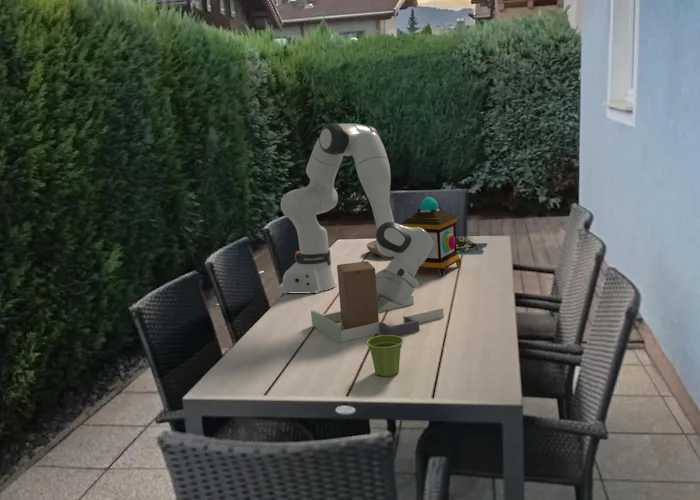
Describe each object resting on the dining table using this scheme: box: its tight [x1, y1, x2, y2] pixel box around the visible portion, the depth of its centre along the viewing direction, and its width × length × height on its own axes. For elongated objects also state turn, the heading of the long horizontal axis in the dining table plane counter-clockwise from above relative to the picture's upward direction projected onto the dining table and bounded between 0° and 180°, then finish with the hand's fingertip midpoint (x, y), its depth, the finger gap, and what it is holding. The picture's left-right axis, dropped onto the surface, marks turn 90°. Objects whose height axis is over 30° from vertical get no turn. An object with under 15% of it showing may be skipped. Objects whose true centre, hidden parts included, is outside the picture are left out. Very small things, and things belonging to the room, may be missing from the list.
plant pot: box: [366, 334, 404, 378], centre depth 177 cm, size 9×9×9 cm
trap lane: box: [310, 294, 445, 344], centre depth 218 cm, size 37×19×5 cm, turn 116°
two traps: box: [379, 316, 420, 337], centre depth 219 cm, size 10×31×3 cm, turn 26°
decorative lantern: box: [401, 196, 462, 277], centre depth 274 cm, size 20×20×30 cm
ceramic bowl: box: [366, 240, 380, 256], centre depth 312 cm, size 23×24×5 cm
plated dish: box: [456, 235, 488, 256], centre depth 310 cm, size 35×28×7 cm
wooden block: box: [336, 260, 380, 330], centre depth 211 cm, size 10×10×20 cm
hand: (374, 309), depth 217 cm, fingers closed
